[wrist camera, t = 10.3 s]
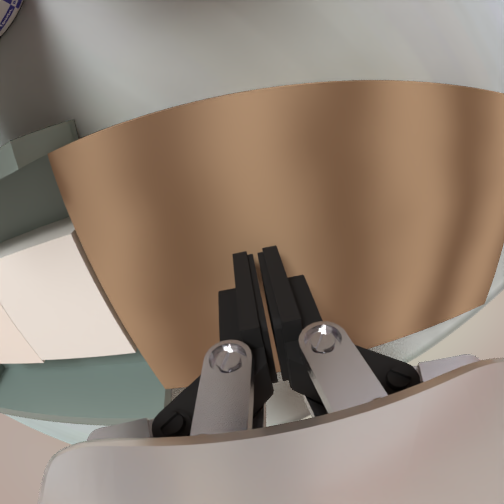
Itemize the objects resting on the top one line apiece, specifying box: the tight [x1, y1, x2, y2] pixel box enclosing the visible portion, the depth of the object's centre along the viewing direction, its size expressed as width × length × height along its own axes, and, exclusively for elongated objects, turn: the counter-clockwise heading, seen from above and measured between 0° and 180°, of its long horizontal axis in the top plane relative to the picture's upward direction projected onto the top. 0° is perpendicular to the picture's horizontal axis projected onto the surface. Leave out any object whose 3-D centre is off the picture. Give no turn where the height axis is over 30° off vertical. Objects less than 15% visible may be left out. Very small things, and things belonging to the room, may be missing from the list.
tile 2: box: [0, 217, 137, 360], centre depth 13 cm, size 7×7×2 cm
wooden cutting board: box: [48, 80, 504, 389], centre depth 14 cm, size 22×14×3 cm, turn 100°
